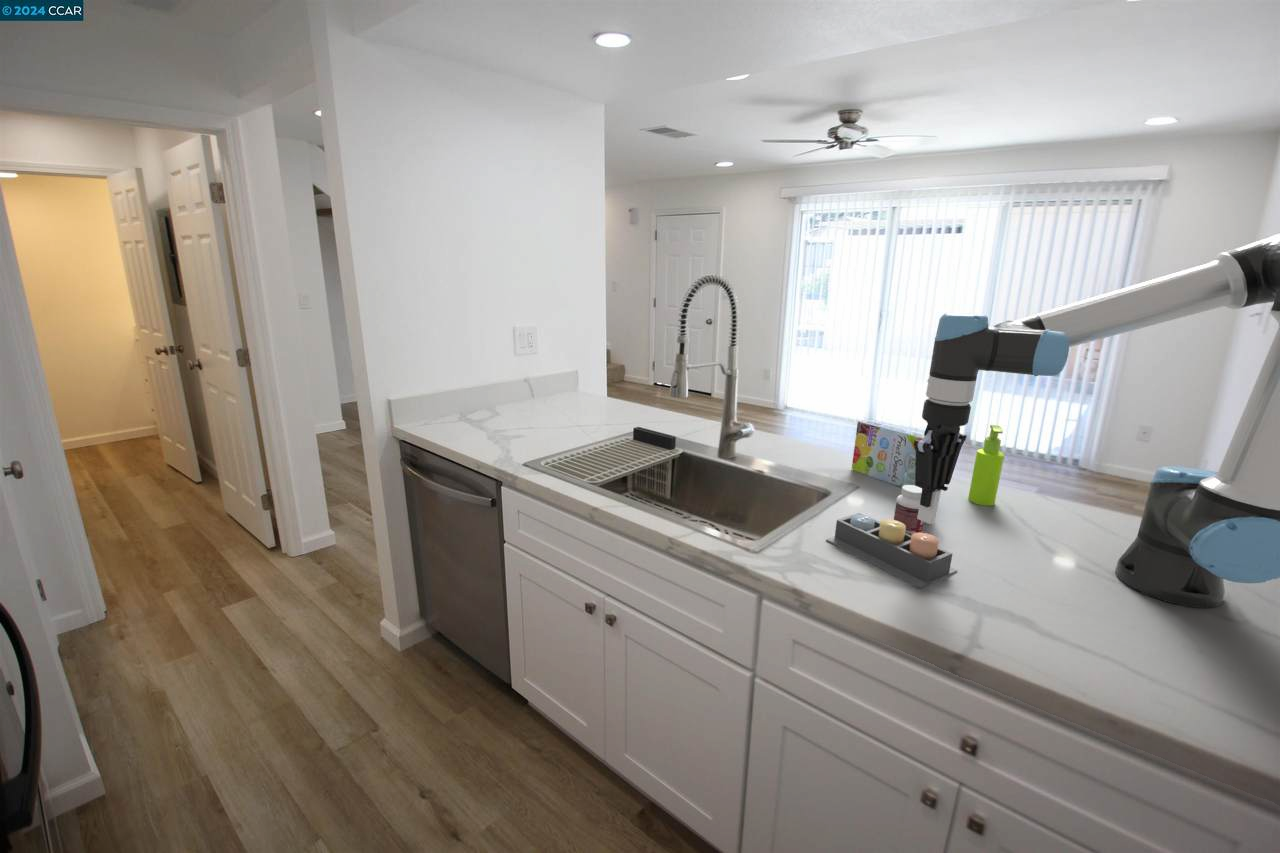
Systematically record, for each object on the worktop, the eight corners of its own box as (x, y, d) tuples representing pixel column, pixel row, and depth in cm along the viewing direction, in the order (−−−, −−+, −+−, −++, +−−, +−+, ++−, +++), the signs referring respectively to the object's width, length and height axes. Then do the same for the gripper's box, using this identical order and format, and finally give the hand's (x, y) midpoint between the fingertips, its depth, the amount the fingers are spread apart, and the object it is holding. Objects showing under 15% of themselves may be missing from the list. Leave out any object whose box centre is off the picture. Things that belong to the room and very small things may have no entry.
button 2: (907, 546, 117) (911, 525, 116) (892, 552, 114) (896, 530, 113) (887, 537, 121) (890, 516, 119) (872, 542, 118) (875, 521, 117)
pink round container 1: (940, 561, 111) (944, 539, 110) (925, 567, 109) (929, 545, 107) (917, 551, 115) (921, 529, 114) (902, 557, 113) (906, 535, 111)
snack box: (930, 489, 154) (939, 436, 150) (918, 494, 151) (927, 439, 147) (861, 466, 171) (868, 417, 167) (849, 470, 168) (856, 420, 164)
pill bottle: (924, 543, 124) (932, 495, 121) (893, 538, 126) (900, 492, 123) (919, 531, 130) (927, 485, 127) (890, 527, 131) (896, 482, 128)
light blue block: (877, 540, 123) (879, 520, 122) (862, 545, 121) (865, 525, 119) (858, 531, 127) (860, 512, 126) (843, 536, 125) (846, 516, 123)
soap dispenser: (970, 504, 145) (984, 428, 139) (966, 495, 151) (980, 421, 145) (997, 508, 142) (1012, 431, 137) (992, 498, 149) (1007, 424, 143)
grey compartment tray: (957, 572, 112) (960, 551, 111) (920, 588, 106) (923, 566, 105) (862, 528, 130) (864, 510, 129) (826, 540, 124) (828, 521, 123)
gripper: (948, 393, 110) (927, 506, 116) (906, 399, 103) (887, 520, 110) (988, 401, 104) (964, 521, 110) (947, 409, 97) (923, 536, 103)
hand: (925, 520), depth 110 cm, fingers closed
